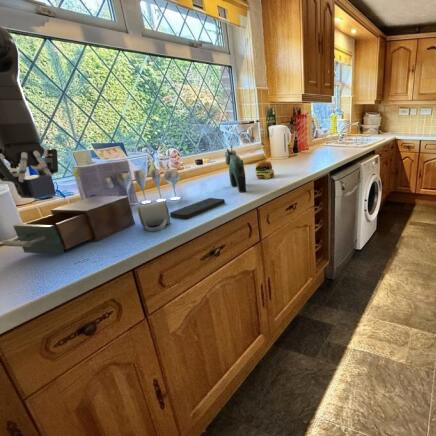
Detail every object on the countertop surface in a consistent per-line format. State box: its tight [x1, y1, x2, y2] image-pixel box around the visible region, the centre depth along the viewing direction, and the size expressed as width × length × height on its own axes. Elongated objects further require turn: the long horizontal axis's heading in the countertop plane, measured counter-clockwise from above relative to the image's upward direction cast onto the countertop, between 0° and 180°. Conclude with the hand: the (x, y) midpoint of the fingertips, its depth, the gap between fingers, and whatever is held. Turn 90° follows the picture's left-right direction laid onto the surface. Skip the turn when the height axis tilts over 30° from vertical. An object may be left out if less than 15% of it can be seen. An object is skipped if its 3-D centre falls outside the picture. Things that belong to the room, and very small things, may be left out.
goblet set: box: [104, 168, 183, 207], centre depth 123 cm, size 28×6×13 cm, turn 116°
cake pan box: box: [71, 159, 138, 203], centre depth 119 cm, size 19×5×18 cm, turn 154°
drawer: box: [1, 212, 94, 256], centre depth 82 cm, size 18×11×8 cm, turn 170°
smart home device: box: [169, 197, 226, 220], centre depth 114 cm, size 8×2×20 cm
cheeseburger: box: [255, 160, 275, 180], centre depth 164 cm, size 10×11×10 cm
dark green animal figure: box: [224, 144, 247, 193], centre depth 141 cm, size 20×6×20 cm, turn 28°
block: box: [20, 174, 57, 199], centre depth 73 cm, size 5×5×5 cm
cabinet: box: [50, 196, 136, 243], centre depth 94 cm, size 15×13×10 cm
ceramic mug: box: [137, 200, 172, 232], centre depth 97 cm, size 11×8×8 cm
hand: (38, 194), depth 74 cm, fingers closed on block, 4 cm apart
